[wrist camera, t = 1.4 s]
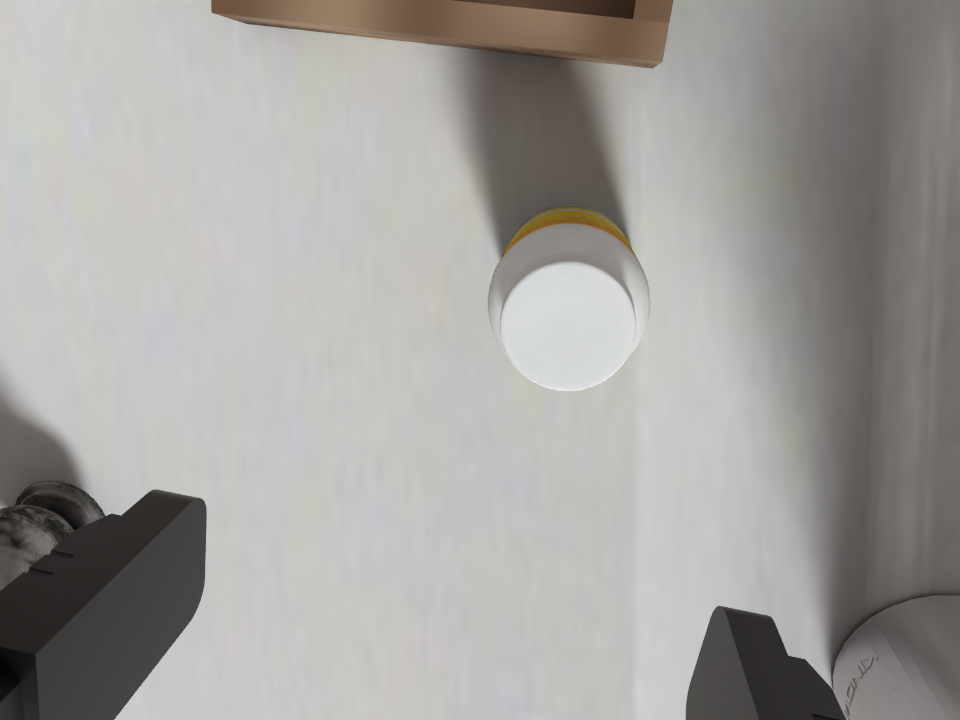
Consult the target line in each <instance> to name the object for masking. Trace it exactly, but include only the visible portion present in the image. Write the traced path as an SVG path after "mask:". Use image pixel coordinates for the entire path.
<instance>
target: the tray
mask: <svg viewBox="0 0 960 720" xmlns="http://www.w3.org/2000/svg"><path fill="white" fill-rule="evenodd" d="M211 3H212V13H214V14H218V15H221V16H224V17H227V18H230V19H234V20H237V21H240V22H243V23H246V24H253V25H262V26H271V27H280V28H290V29H299V30H308V31H317V32H326V33H335V34H344V35H353V36H363V37H372V38H381V39H390V40H399V41H408V42H417V43H426V44H436V45H445V46H454V47H463V48H472V49H481V50H490V51H499V52H509V53H518V54H527V55H536V56H545V57H554V58H563V59H572V60H582V61H591V62H600V63H609V64H618V65H627V66H636V67H646V68H653V67H655V66H656V65H658V64H659V63H661V62H662V60H663V54H664V49H665V43H666V38H667V32H668V26H669V21H670V15H671V10H672V4H673V0H211Z"/></svg>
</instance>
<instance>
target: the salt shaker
mask: <svg viewBox="0 0 960 720" xmlns="http://www.w3.org/2000/svg"><path fill="white" fill-rule="evenodd" d="M103 517H105V515H104V513H103V511H102V510H101V509H100V507H99V506H98V505H97V503H96V502H95V501H94V500H93V499H92V498H90V497H89V496H88V495H87V494H86V493H85V492H83V491H81V490H79V489H78V488H76V487H74V486H72V485H69V484H66V483H62V482H58V481H44V482H39V483H35V484H33V485H32V486H30V487H28V488H27V489H25V490H24V491H23V492H22V493H21V495H20V496H19V497H18V498H17V501H16V504H15V506H12V507H7V508H2V509H0V591H1V590H2V589H3V588H4V587H6V586H7V585H8V584H9V583H11V582H12V581H13V580H14V579H16V578H17V577H18V576H19V575H21V574H22V573H23V572H26V573H27V572H28V571H29V567H30V566H32V565H33V564H34V563H35V562H37V561H38V560H39V559H40V558H42V557H43V556H44V555H45V554H48V555H49V554H50V552H51V549H53V548H54V547H55V546H56V545H58V544H59V543H60V542H61V541H63V540H64V539H65V538H66V537H68V536H69V535H70V534H71V533H73V532H74V531H75V530H76V529H78V528H80V527H83V526H85V525H87V524H89V523H92V522H94V521H96V520H99V519H101V518H103Z"/></svg>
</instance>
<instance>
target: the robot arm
mask: <svg viewBox="0 0 960 720" xmlns="http://www.w3.org/2000/svg"><path fill="white" fill-rule="evenodd" d="M206 515H207V514H206V505H205V502H204V501H203V500H202V499H200V498H196V497H191V496H186V495H181V494H176V493H171V492H166V491H161V490H157V489H156V490H152V491H150V492H149V493H147V494H146V495H145V496H144V497H143V498H141V499H140V500H139V501H138V502H137V503H136V504H134V505H133V506H132V507H131V508H130V509H129V510H127V511H126V512H125V513H124V514H123V515H122V516H120V515H115V514H110V515H108V516H105V517H103V518H101V519H99V520H96V521H94V522H92V523H89V524H87V525H85V526H83V527H80V528H78V529H76V530H75V531H74V532H73V533H71V534H70V535H69V536H68V537H66V538H65V539H64V540H63V541H61V542H60V543H59V544H58V545H56V546H55V547H54V548H53V549H51V552H50V554H49V555H48V554H45V555H44V556H43V557H42V558H40V559H39V560H38V561H37V562H35V563H34V564H33V565H32V566H30V567H29V571H28V572H27V573H26V572H23V573H22V574H21V575H19V576H18V577H17V578H16V579H14V580H13V581H12V582H11V583H9V584H8V585H7V586H6V587H4V588H3V589H2V590H1V591H0V720H114V719H115V718H116V716H117V715H118V714H119V713H120V711H121V710H122V709H123V707H124V706H125V705H126V704H127V702H128V701H129V700H130V698H131V697H132V696H133V695H134V693H135V692H136V691H137V689H138V688H139V687H140V686H141V684H142V683H143V682H144V680H145V679H146V678H147V677H148V675H149V674H150V673H151V671H152V670H153V669H154V667H155V666H156V665H157V664H158V662H159V661H160V660H161V658H162V657H163V656H164V655H165V653H166V652H167V651H168V649H169V648H170V647H171V646H172V644H173V643H174V642H175V640H176V639H177V638H178V637H179V635H180V634H181V633H182V631H183V630H184V629H185V628H186V626H187V625H188V624H189V622H190V621H191V619H192V618H193V616H194V614H195V612H196V610H197V608H198V605H199V603H200V600H201V597H202V593H203V589H204V582H205V552H206ZM833 688H834V692H833V690H832V689H831V687H830V686H829V685H828V684H827V683H826V682H825V681H824V680H823V679H822V677H821V676H820V675H819V674H818V673H817V672H816V671H815V670H814V669H813V667H812V666H811V665H810V664H809V663H808V662H807V661H806V660H805V659H801V658H796V657H791V656H788V654H787V652H786V649H785V647H784V644H783V642H782V639H781V637H780V635H779V632H778V630H777V627H776V625H775V623H774V621H773V619H772V618H771V617H770V616H767V615H762V614H757V613H752V612H747V611H742V610H737V609H732V608H727V607H723V606H718V607H716V608H715V610H714V611H713V613H712V616H711V618H710V621H709V625H708V628H707V631H706V634H705V637H704V641H703V644H702V647H701V650H700V653H699V657H698V660H697V663H696V666H695V669H694V673H693V676H692V679H691V682H690V686H689V690H688V695H687V703H686V720H960V595H933V596H927V597H921V598H915V599H911V600H908V601H905V602H902V603H899V604H896V605H893V606H890V607H888V608H887V609H885V610H883V611H881V612H879V613H877V614H876V615H874V616H872V617H871V618H869V619H868V620H867V621H866V622H864V623H863V624H862V625H861V626H859V627H858V628H857V629H856V630H855V631H854V632H853V634H852V635H851V636H850V637H849V638H848V640H847V641H846V642H845V643H844V645H843V647H842V649H841V651H840V653H839V655H838V657H837V659H836V662H835V667H834V672H833Z"/></svg>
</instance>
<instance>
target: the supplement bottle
mask: <svg viewBox="0 0 960 720" xmlns="http://www.w3.org/2000/svg"><path fill="white" fill-rule="evenodd" d="M488 312H489V319H490V323H491V327H492V330H493V332H494V335H495V337H496V339H497V341H498V343H499V345H500V346H501V348H502V349H503V350H504V352H505V353H506V354H507V356H508V358H509V359H510V361H511V363H512V364H513V365H514V366H515V368H516V369H517V370H518V371H519V372H520V373H521V374H522V375H524V376H525V377H526V378H528V379H529V380H531V381H532V382H534V383H536V384H538V385H540V386H543V387H545V388H549V389H553V390H559V391H575V390H582V389H586V388H590V387H592V386H595V385H597V384H599V383H601V382H603V381H605V380H606V379H608V378H609V377H610V376H612V375H613V374H614V373H615V372H616V371H617V370H618V369H619V368H620V367H621V366H622V365H623V363H624V362H625V360H626V359H627V358H628V357H629V356H630V355H631V354H632V352H633V351H634V350H635V348H636V347H637V346H638V344H639V342H640V341H641V339H642V337H643V335H644V332H645V330H646V327H647V324H648V320H649V313H650V292H649V286H648V282H647V279H646V276H645V273H644V271H643V269H642V267H641V265H640V263H639V261H638V259H637V257H636V255H635V254H634V252H633V250H632V248H631V246H630V244H629V241H628V240H627V238H626V236H625V235H624V233H623V232H622V231H621V230H620V228H619V227H618V226H617V225H616V224H615V223H614V222H613V221H611V220H610V219H609V218H607V217H606V216H604V215H602V214H601V213H599V212H597V211H594V210H592V209H589V208H585V207H581V206H573V205H566V206H558V207H553V208H550V209H547V210H545V211H542V212H540V213H538V214H536V215H535V216H533V217H532V218H530V219H529V220H528V221H527V222H526V223H525V224H524V225H523V226H522V227H521V228H520V229H519V230H518V232H517V233H516V234H515V236H514V237H513V239H512V241H511V243H510V244H509V246H508V248H507V249H506V251H505V253H504V255H503V257H502V259H501V260H500V262H499V263H498V265H497V267H496V269H495V271H494V274H493V277H492V280H491V284H490V289H489V295H488Z"/></svg>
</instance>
